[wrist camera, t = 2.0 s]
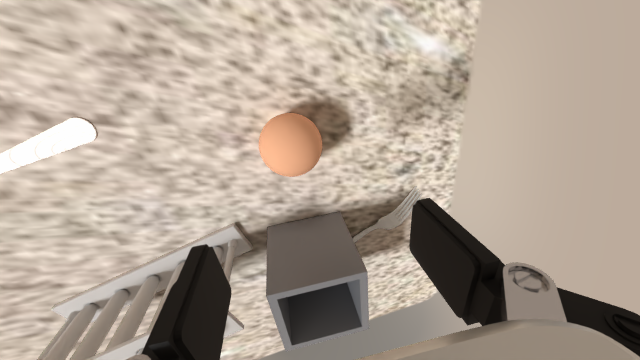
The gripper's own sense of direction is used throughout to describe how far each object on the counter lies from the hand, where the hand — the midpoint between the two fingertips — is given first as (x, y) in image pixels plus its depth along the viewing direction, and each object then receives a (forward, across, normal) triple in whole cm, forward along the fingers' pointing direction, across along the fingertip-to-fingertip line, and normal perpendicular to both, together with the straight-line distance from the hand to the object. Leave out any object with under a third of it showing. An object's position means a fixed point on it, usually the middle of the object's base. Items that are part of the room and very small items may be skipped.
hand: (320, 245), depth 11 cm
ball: (+14, 0, 0) cm, 14 cm away
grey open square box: (+17, 0, +16) cm, 23 cm away
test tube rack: (+17, +20, +14) cm, 30 cm away
